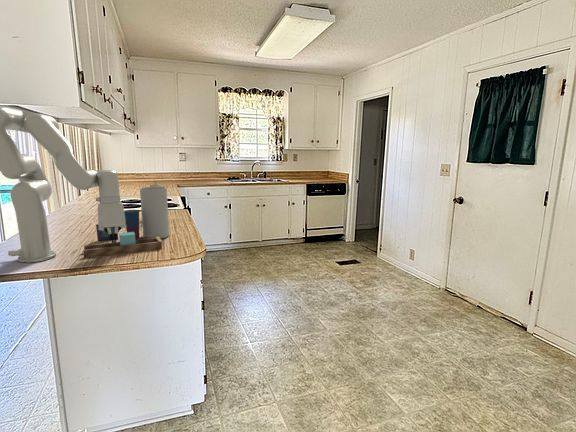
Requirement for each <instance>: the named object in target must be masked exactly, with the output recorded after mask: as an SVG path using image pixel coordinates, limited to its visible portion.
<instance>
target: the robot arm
mask: <svg viewBox="0 0 576 432" xmlns="http://www.w3.org/2000/svg"><path fill="white" fill-rule="evenodd" d="M59 129H60V126H59V124H58V121H57V120H56V119H55V118H53V117H52V116H50V115H48V114H44V113H38V112H31V111H28V110H27V111H26V110H22V109H19V108H14V107H10V106H9V107H8V106H4V105H0V173H1V175H3V177H5V178H6V179H9V180H19V182H18V183H16V184H15V185H13V187H12V188H11V189H10V199H11V202H12V205H13V207H14V208H13V209H14V212H15V217H16V223H17V230H18V235H19V244H20V248H19V249H17V250H14V249H13V250H7V251H8V252H7V255H8V256H10V257H17V256H18V257H17V261H18V262H19V261H20V262H19V263H24V262H26V263H39V262H44V261H49V260H50V259H53V258H55V257H56V255H57V253H56V252H55V251H54V250H52V249H51V242H50V234H49V233H50V232H49V228H48V227H49V226H48V218H47V214H46V209H45V207H44V204H43V202H44V201H46V200H48V199H49V198H51V196H52V192H53V190H52V185H51V183H50V181H49V180H48V178H47V176H46V175H45V174H46V173H45V172H44V170H43V168H42V166H41V165H40V163H39V162H38V161H37V160H36V159H35V158H34V157H32V156H31V155H28V154H24V153H23V154H22V153H21V151H20V150H19V148H18V147H17V145H16V143H15V141H14V140H13V139H12V137H11V136H10V135H9V134H8V132H7V130H8V131H18V132H23V133H27V134H30V135H31V137H33V139H34V140H35V141H36V142H37V143H38V144H39V145H40V146H41V147H42V148H43V149H44V150H45V151H46V152H47V154H48V155H49V156H50V158H51V159H52V161H53V163H54V165H55V166H56V168H57V169H58V172H60V174H61V175H62V176H63V177H64V178H65V179H66V180H67V182H68V183H69V184H70V185H72V187H74V188H76V189H77V190H81V191H85V190H86V191H87V190H90V189H92V188H96V187H98V194H99V195H98V197H95V201H96V202H98V204H97V224H98V225H99V227H98V230H103V231H106V232H107V233H108V234H109V237H110V240H109V241H110V242H111V243H116V242H117V241H118V240H119V237H118V238H117V233H118V234H119V233H120V231H121V230H122V229H126V227H127V226H126V224H125V213H124V211H125V208H124V204H123V202H121V197H120V186H119V184H120V183H119V175H118V172H117V171H116V170H113V169H106V170H97V169H85V168H84V167H83V166H82V165H81V164H80V163H79V161H78V160H77V159H76V157H75V156H74V153H73V146H72V143H70V141H69V140H68V139H67V138H66V136H64V135H63V134H62V133H61V132H60V130H59ZM111 227H115V230H114V233H112V231H111ZM113 235H114V239H113Z"/></svg>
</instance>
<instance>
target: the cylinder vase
mask: <svg viewBox="0 0 576 432" xmlns="http://www.w3.org/2000/svg"><path fill="white" fill-rule="evenodd" d="M167 189H168V188H167V187H150V186H146V187H145V186H144V187H140V188H139V195H140V196H139V197H140V207H141V208H140V210H141V211H140V212H141V221H142V223H141V224H142V236H143V237H144V238H146V239H150V238H156V237H160V239H161V240H162V239H165V238H168V237H169V236H170V227H169V226H170V222H169V207H168V204H169V203H168V190H167Z"/></svg>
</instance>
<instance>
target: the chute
mask: <svg viewBox="0 0 576 432" xmlns="http://www.w3.org/2000/svg"><path fill="white" fill-rule="evenodd" d="M135 241H136V244H132V245H123V246H120V241H116V243H112V242H105V243H103V242H102V243H95V244H93V243H92V244H84V245H83V250H82V253H83V259H90V258H98V257H99V258H100V257H101V258H102V257H107V256H109V257H110V256H116V255H117V256H118V255H126V254H133V253H141V252H149V251H155V250H156V251H158V250H159V251H160V250H163V243H162V239H160V237H156V238H141V239H140V238H139V239H138V240H135Z"/></svg>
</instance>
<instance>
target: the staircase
mask: <svg viewBox="0 0 576 432" xmlns="http://www.w3.org/2000/svg"><path fill="white" fill-rule="evenodd" d="M157 181H158V180H157ZM157 181H156V179H154V184H150V185H149V187H165V185H163V184H162V185H161V184H159V183H158V182H157Z"/></svg>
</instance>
